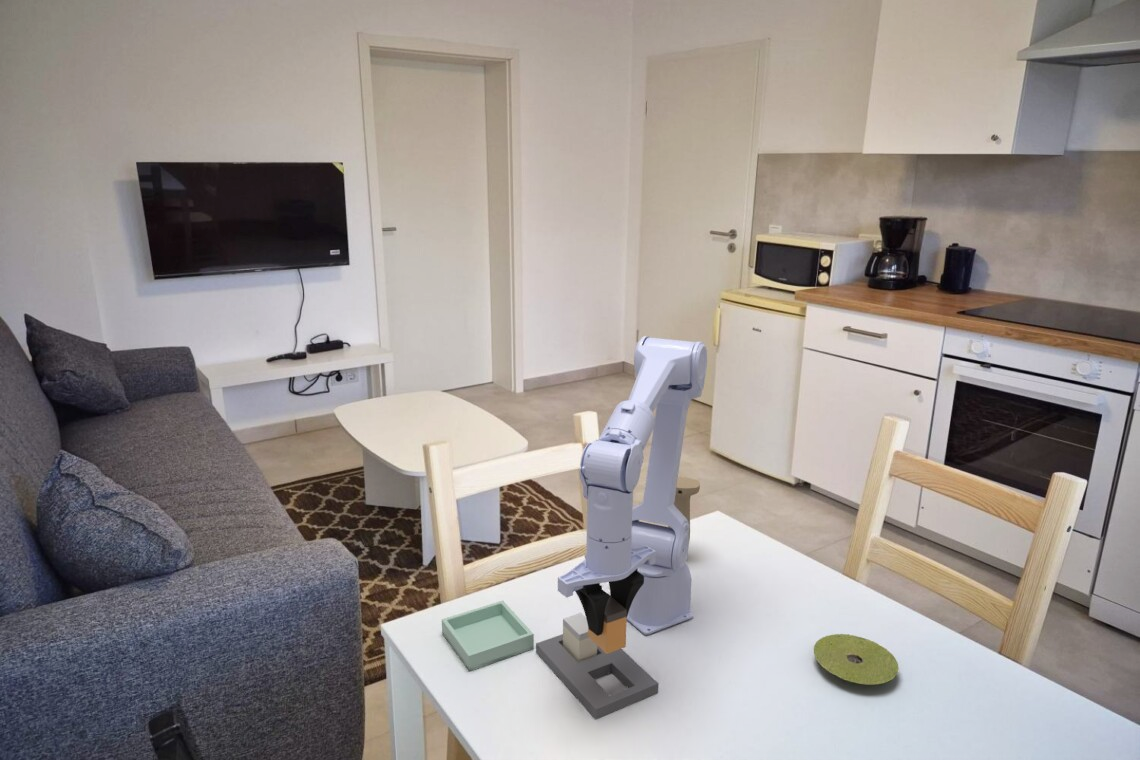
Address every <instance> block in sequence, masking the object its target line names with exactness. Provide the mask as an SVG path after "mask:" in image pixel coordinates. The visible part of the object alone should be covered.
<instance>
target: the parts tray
mask: <svg viewBox="0 0 1140 760" xmlns="http://www.w3.org/2000/svg"><path fill="white" fill-rule="evenodd" d="M441 634H442V636H443V637H444V638H445V639H446V641H447V643H448V644H449V645H450V647H451V648H452V649H453V651H454V652H455V654H456V655H457V656H458V658H459V659H460V661H461V662H462V663H463V665H464V666H465V667H466V668H467V670H468V672H472V671H476V670H477V669H480V668H483V667H486V666H489V665H492V664H494V663H497V662H500V661H503V660H506V659H509V658H512V657H514V656H517V655H520V653H521V654H523V653H526V652H529V651H532V650H534V649H535V648H534V647H535V645H534V642H535V640H534V639H535V638H534V636H535V634H534V632H532V630H531V629H530V628H528V626H527V625H526V624H525V622H523V620H521V618H520V617H519V616H518V615H517V614H516V613H515V612H514V611H513V609H511V607H509V606H508V603H506V602H505V601H504V600H499V601H496V602H493V603H490V604H487V605H484V606H481V607H478V608H474V609H471V610H467V611H464V612H462V613H458V614H454V615H451V616H449V617H444V618H442V619H441ZM528 650H529V651H528Z"/></svg>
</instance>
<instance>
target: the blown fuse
mask: <svg viewBox="0 0 1140 760" xmlns="http://www.w3.org/2000/svg"><path fill="white" fill-rule="evenodd" d="M626 618H627V610H626V609H625V608H624V607H623V606H622V605H621V604H619V603H618V602H617V601H616V600H615V599H614V598H613V597H611V596H610V597H609V599H608V601H607V604H606V608H605V613H604V626H603V632H602V634H601V635H599V636H597V635H596V634H594V633H593V632H592V631H591V630H589V628H588V636H589V637H590V638H591V639H592V640H593V641H594V642H595V643H596V644H597V645H598V646H599V647H600V648H601V649H602V650H603V651H604V652H605V653H606V654H608V653H610V652H613V651H616V650H618V649H624V648H626V647H627V645H626V642H627V619H626Z"/></svg>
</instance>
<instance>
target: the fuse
mask: <svg viewBox="0 0 1140 760" xmlns="http://www.w3.org/2000/svg"><path fill="white" fill-rule="evenodd" d="M562 634H563V647H564V648H565V649H566V650H567V651H568V652H569V653H570V654H571V656H572V657H573V658H574V659H575V660H576V661H577V662H580V661H583V660H585V659H588V658H591V657H593V656H596V655H597V644H596V643H595V642H594V641H593V640H592V639H591V638H590V637H589V636H588V623H587V619H586V615H585V614H582V613H581V612H579V613H576V614H572V615H570V616H567V617H564V618H563V619H562Z"/></svg>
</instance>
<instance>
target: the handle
mask: <svg viewBox="0 0 1140 760" xmlns="http://www.w3.org/2000/svg"><path fill="white" fill-rule="evenodd" d="M700 487H701V483H700V481H699V480H697V479H694V478H690V477H686V476H683V477H682V476H678V480H677V487H676V494H675V501H674V505H675V507H676V508H677V509H678V510H679V511H680V512H681V513H682V514H683V515H684V516H685V517H686V519H687V520H688V522H689V541H691V539H690V538H691V497H692V496H694V495H696V494H698V493H699V492H700ZM667 527H670V526H667ZM670 528H671V527H670Z"/></svg>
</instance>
